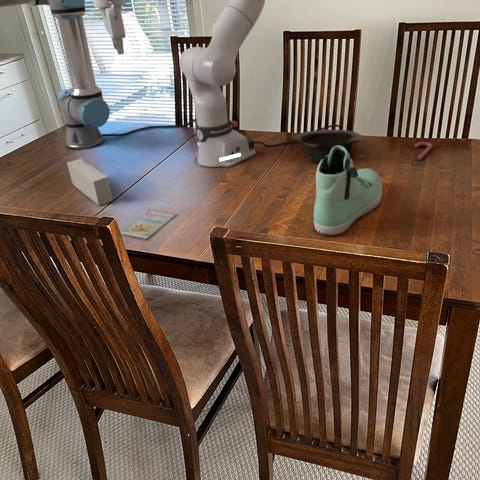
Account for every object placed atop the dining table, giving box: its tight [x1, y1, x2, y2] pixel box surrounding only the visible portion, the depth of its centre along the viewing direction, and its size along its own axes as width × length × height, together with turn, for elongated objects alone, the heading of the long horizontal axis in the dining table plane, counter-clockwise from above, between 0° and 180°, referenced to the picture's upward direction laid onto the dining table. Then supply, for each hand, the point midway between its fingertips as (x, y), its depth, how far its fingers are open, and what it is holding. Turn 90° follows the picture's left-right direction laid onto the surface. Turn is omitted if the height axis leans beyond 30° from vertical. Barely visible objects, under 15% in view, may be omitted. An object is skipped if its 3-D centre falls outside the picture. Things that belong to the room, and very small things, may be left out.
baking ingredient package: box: [120, 209, 176, 239], centre depth 139 cm, size 9×1×15 cm
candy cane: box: [414, 141, 434, 161], centre depth 170 cm, size 6×15×2 cm, turn 145°
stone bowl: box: [292, 129, 365, 164], centre depth 172 cm, size 25×25×9 cm
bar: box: [66, 158, 114, 206], centre depth 159 cm, size 22×5×8 cm, turn 38°
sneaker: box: [313, 146, 383, 236], centre depth 133 cm, size 14×35×20 cm, turn 152°
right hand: (119, 51), depth 141 cm, fingers open, 8 cm apart
